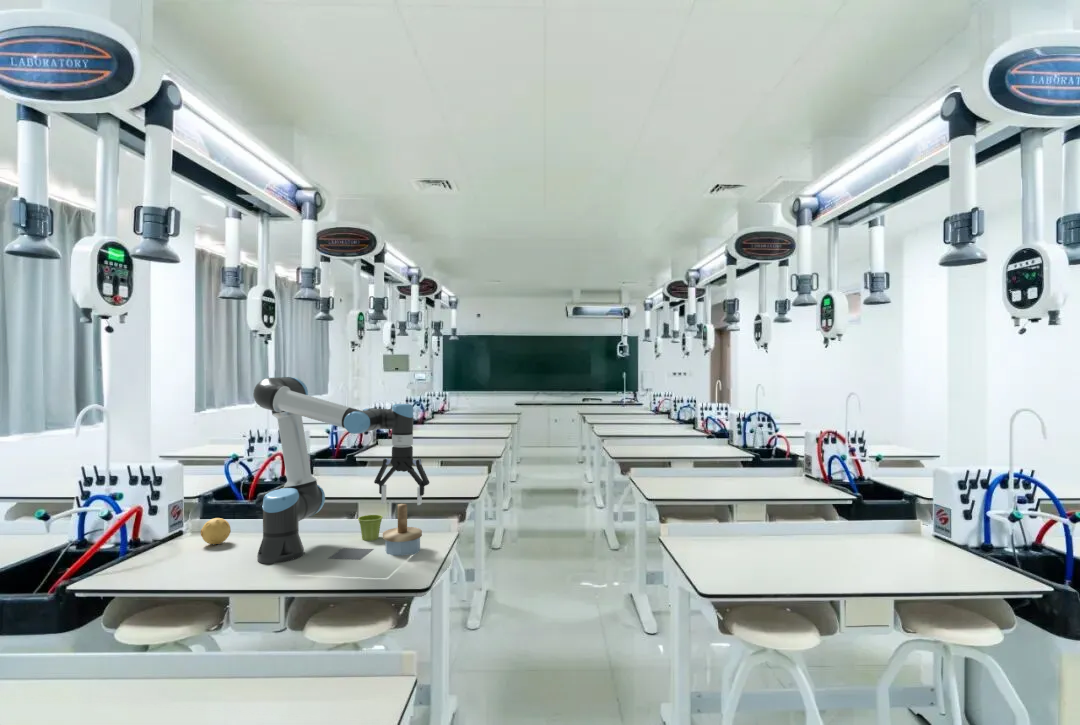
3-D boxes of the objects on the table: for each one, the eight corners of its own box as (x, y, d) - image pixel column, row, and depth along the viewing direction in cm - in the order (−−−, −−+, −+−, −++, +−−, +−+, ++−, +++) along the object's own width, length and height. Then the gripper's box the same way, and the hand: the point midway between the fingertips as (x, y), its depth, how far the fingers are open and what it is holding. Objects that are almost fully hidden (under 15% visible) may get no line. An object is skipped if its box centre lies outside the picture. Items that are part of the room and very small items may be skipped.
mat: (327, 559, 202) (327, 558, 202) (343, 549, 214) (343, 547, 214) (360, 561, 201) (360, 559, 201) (374, 550, 213) (374, 548, 213)
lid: (376, 541, 205) (376, 509, 205) (391, 530, 219) (391, 500, 219) (414, 542, 204) (414, 509, 204) (426, 531, 218) (426, 500, 218)
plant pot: (364, 535, 232) (364, 514, 232) (386, 536, 230) (386, 514, 231) (353, 542, 222) (353, 520, 223) (376, 543, 221) (376, 520, 221)
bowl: (380, 555, 206) (380, 540, 206) (393, 545, 218) (393, 531, 218) (413, 557, 205) (413, 541, 205) (423, 546, 217) (423, 532, 217)
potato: (210, 543, 225) (190, 532, 219) (228, 521, 230) (209, 509, 223) (222, 552, 220) (202, 541, 213) (240, 529, 224) (221, 517, 217)
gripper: (365, 446, 210) (364, 504, 209) (432, 448, 207) (431, 507, 206) (374, 443, 217) (373, 499, 217) (438, 445, 214) (437, 502, 214)
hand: (401, 503), depth 212 cm, fingers open, 13 cm apart
